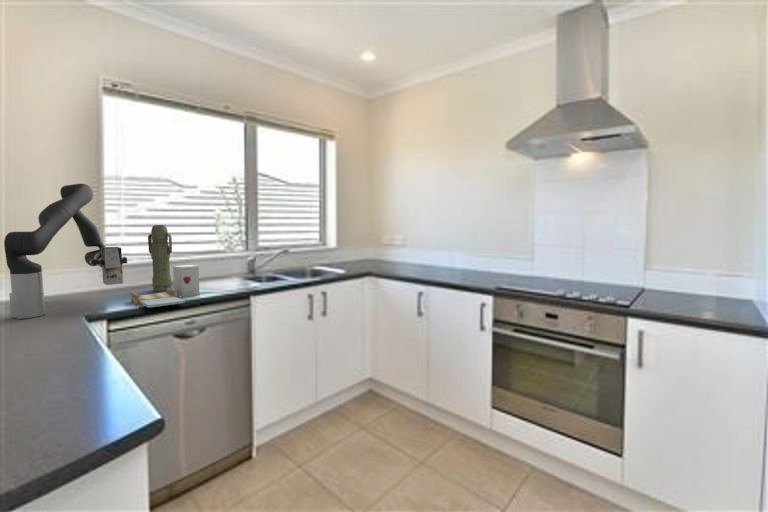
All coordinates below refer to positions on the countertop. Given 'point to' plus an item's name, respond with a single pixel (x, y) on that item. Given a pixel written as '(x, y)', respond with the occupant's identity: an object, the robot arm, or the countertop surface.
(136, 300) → the flatbed
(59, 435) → the countertop surface
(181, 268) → the supplement box
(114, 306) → the countertop surface
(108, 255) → the coffee box
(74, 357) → the countertop surface
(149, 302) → the panel
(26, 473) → the countertop surface
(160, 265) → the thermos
